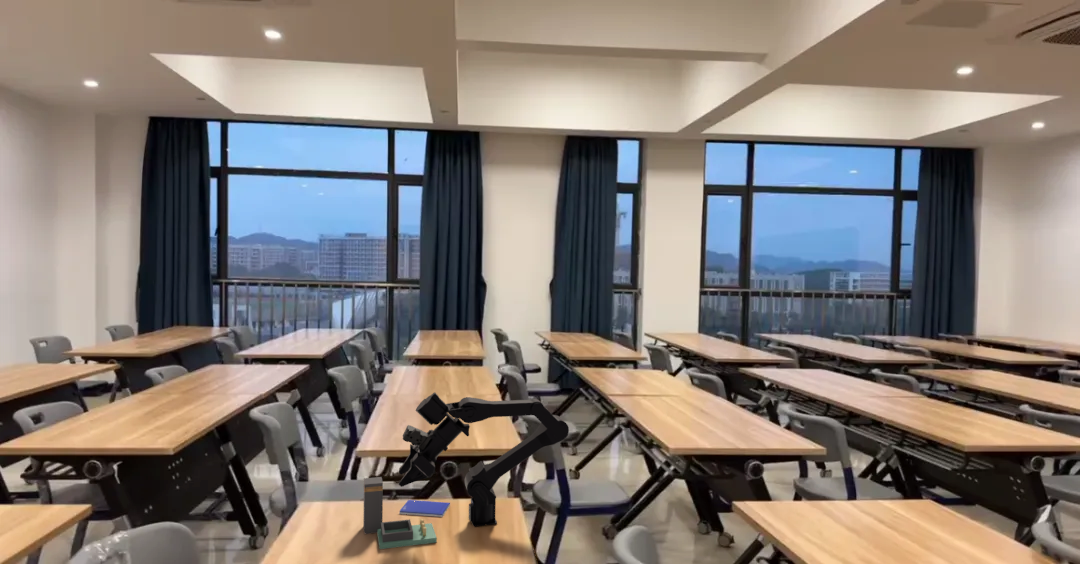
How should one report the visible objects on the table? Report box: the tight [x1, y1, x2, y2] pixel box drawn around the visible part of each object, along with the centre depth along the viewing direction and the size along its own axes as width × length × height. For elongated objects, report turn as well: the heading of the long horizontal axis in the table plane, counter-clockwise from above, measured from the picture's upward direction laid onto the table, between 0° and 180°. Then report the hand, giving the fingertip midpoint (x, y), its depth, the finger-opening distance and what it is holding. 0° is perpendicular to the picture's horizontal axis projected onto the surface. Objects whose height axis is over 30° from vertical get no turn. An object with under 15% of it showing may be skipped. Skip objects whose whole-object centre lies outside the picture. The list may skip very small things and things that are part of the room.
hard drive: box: [398, 499, 451, 518], centre depth 181 cm, size 2×8×12 cm
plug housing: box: [362, 476, 384, 535], centre depth 167 cm, size 5×5×13 cm
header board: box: [376, 518, 438, 550], centre depth 163 cm, size 14×9×3 cm, turn 108°
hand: (399, 479), depth 168 cm, fingers open, 9 cm apart
